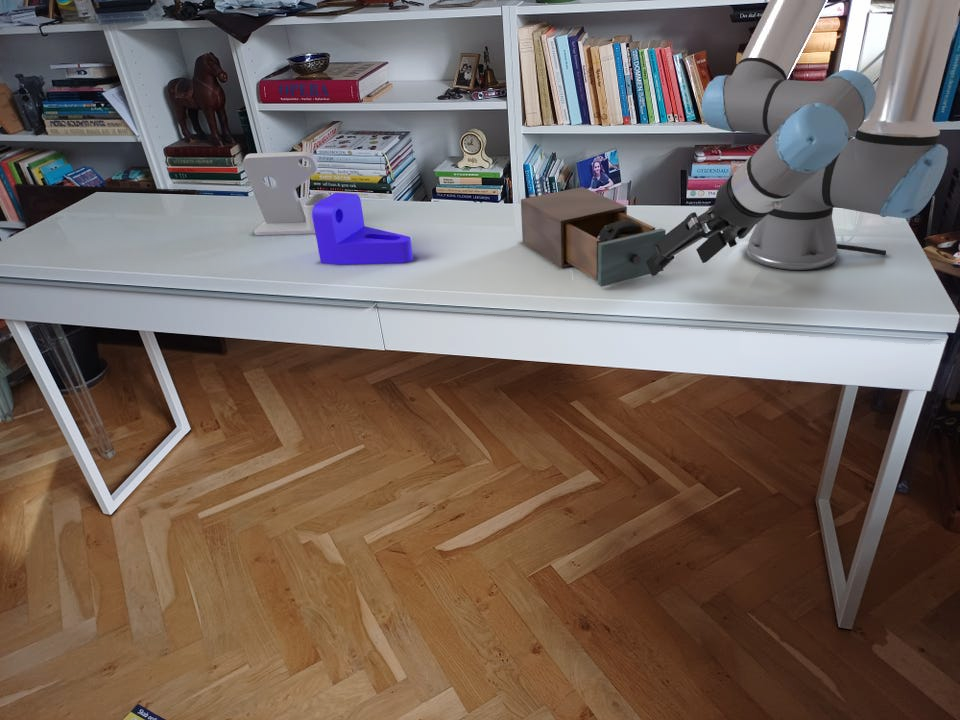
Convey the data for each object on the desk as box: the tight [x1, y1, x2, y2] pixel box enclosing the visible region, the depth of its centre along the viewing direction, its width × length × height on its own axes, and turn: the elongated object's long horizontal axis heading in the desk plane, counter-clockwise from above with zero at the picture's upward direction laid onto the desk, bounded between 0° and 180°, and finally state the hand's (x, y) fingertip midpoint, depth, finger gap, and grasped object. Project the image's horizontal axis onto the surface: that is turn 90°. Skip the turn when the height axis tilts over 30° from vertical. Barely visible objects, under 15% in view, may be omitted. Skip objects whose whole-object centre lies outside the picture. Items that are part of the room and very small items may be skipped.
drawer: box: [563, 211, 667, 288], centre depth 134 cm, size 16×13×8 cm
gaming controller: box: [597, 221, 638, 242], centre depth 134 cm, size 10×5×6 cm
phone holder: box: [242, 150, 331, 236], centre depth 166 cm, size 17×10×18 cm, turn 84°
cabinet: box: [520, 186, 628, 269], centre depth 145 cm, size 16×14×9 cm
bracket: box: [312, 192, 414, 266], centre depth 148 cm, size 18×11×12 cm, turn 68°
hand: (676, 262), depth 124 cm, fingers open, 9 cm apart
